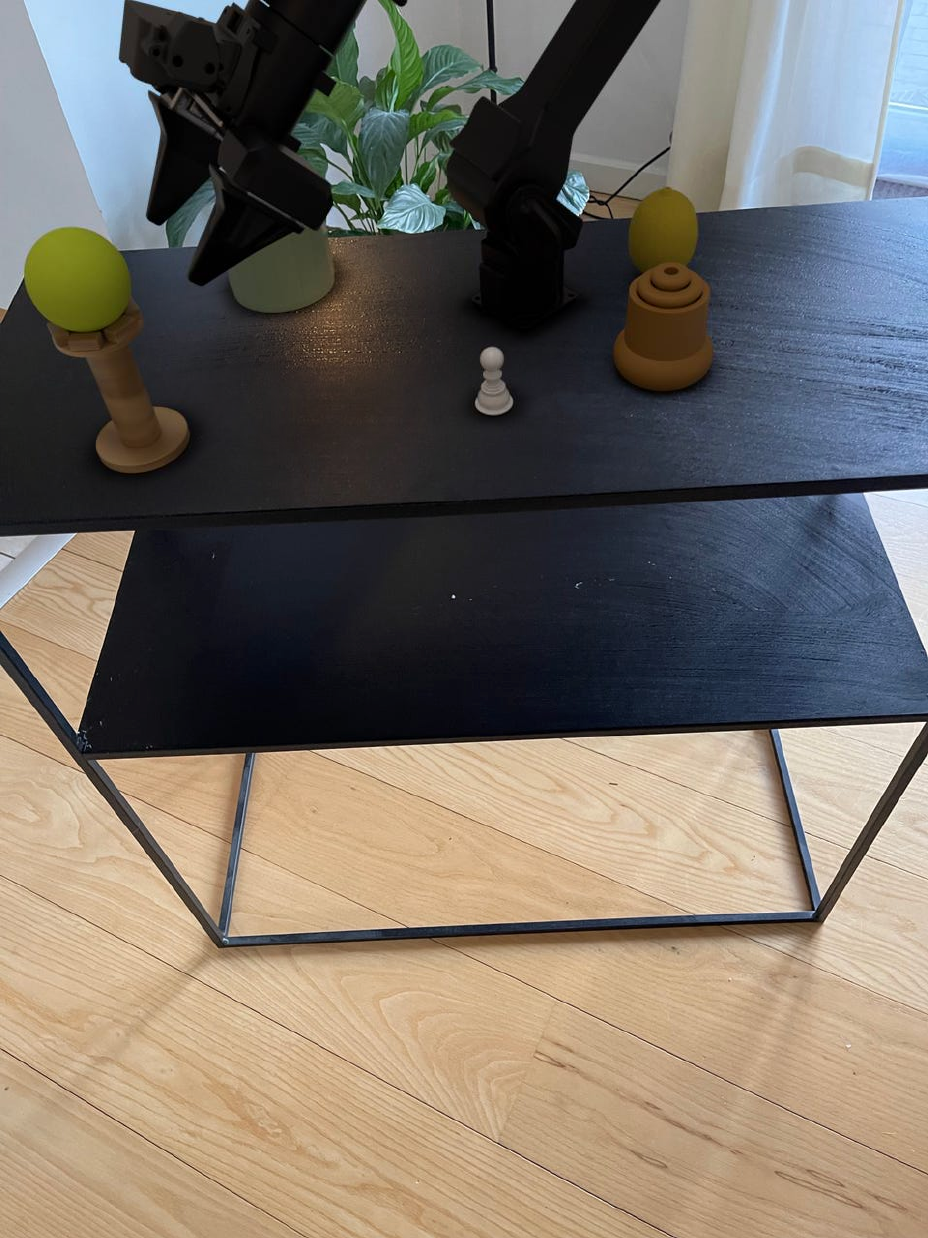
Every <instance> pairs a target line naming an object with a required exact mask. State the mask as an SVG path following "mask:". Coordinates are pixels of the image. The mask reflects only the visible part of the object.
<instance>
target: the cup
mask: <svg viewBox="0 0 928 1238" xmlns="http://www.w3.org/2000/svg"><path fill="white" fill-rule="evenodd" d="M302 225H303V226H304V227H305V230H304V231H303V232H302V233H301V234H300V235H299V234H297V233H295V232H293V233H291V234H289V235H287V236H285V237H283V238H282V239H280V240H278V241H276V242H274V243H272V244H271V245H269V246H267V247H265V248H263V249H261V250H260V251H258V252H256V253H254V254H253V255H251V256H250V257H248V258H246V259H245V260H243V261H242V262H240V263H239V264H237V265H235V266H234V267H232V268H231V269H229V270H228V271H226V274H227V278H228V281H229V284H230V288H231V290H232V293H233V297H234V299H235V300H236V302H238V304H240V306H242V307H244V308H246V309H249V310H251V311H254V312H259V313H268V314H279V313H287V312H293V311H297V310H300V309H303V308H306V307H308V306H311V305H314V304H316V303H317V302H319V301H320V300H321V299H323V298H325V296H326V295H328V294H329V292H330V291H331V290H332V288H333V286H334V283H335V265H334V261H333V256H332V250H331V244H330V239H329V234H328V228H327V223H326V219H325V220H324V222H323V223H322V225H321V227H320V228H319V230H318V231H314V230H312V229H310V228H309V227H307V226H305V225H304V224H302Z"/></svg>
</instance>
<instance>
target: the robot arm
mask: <svg viewBox="0 0 928 1238" xmlns="http://www.w3.org/2000/svg"><path fill="white" fill-rule="evenodd" d="M367 1H368V0H248V1H247V2H246V4H245V7H244V9H243V8H242V7H241V6H240V5H238V4H237V3H236V2H234V1H232V3H231V5H229V4H227V5H226V6H225V7H224V8H223V10H222V12H221V14H220V16H219V17H218V19H217V20H216V22H213V21H210V20H206V19H205V18H204V17H202V16H198V17H196V16H194V15H191V14H189V13H185V12H182V11H177V10H173V9H169V8H165V7H162V6H158V5H154V4H150V3H146V2H142V1H138V0H124V2H123V10H122V20H121V30H120V40H119V50H118V60H119V62H120V63H121V64H125V65H126V66H127V67H128V68H129V73H130V75H131V77H133V78H134V79H135V80H137V81H138V82H141V83H144V84H147V85H150V86H151V87H152V88H153V89H154V90H155V91H156V92H157V93H159V94H157V93H156V92H154V91H152V90H150V89H148V90H147V97H148V100H149V101H150V103H151V105H152V108H153V111H154V115H155V117H156V120H157V123H158V125H159V132H160V133H159V142H158V148H157V154H156V158H155V159H156V160H155V164H154V170H153V175H152V180H151V185H150V189H149V190H150V191H149V196H148V201H147V206H146V211H145V218H146V220H147V221H148V222H149V223H151V224H154V225H155V226H158V227H161V226H162V225H164V224H165V223H166V222H167V221H168V220H170V219H171V218H172V217H173V216H174V215H175V214H176V213H177V212H178V211H179V210H180V209H181V208H182V207H183V206H184V205H185V204H186V203H187V202H188V201H189V200H190V199H191V198H192V197H193V196H194V195H195V194H196V192H197V191H199V190H200V188H201V187H203V186H204V184H206V183H207V182H208V181H209V180H210V178H211V182H212V186H213V190H214V195H215V201H214V204H213V207H212V209H211V211H210V214H209V216H208V219H207V221H206V224H205V226H204V229H203V231H202V233H201V236H200V239H199V241H198V244H197V246H196V248H195V251H194V253H193V256H192V259H191V262H190V265H189V268H188V271H187V273H186V278H187V280H188V281H189V283H191V284H194V285H195V286H198V287H205V286H206V285H207V284H210V283H211V282H212V281H214V280H216V279H217V278H218V277H219V276H221V275H223V274H225V273H227V271H228V270H229V269H231V268H232V267H234V266H235V265H237V264H239V263H240V262H242V261H243V260H245V259H246V258H248V257H250V256H251V255H253V254H254V253H256V252H258V251H260V250H261V249H263V248H265V247H267V246H269V245H271V244H272V243H274V242H276V241H278V240H280V239H282V238H283V237H285V236H287V235H289V234H291V233H293V232H295V233H297V234H299V235H300V234H301V233H302V232H303V231H304V230H305V227H304V226H303V225H302V224H304V225H305V226H307V227H309V228H310V229H312V230H314V231H318V230H319V228H320V227H321V225H322V223H323V222H324V220H325V221H326V218H327V217H328V215H329V214H330V211H331V210H332V208H333V206H334V205H335V202H334V197H333V192H332V185H331V183H330V182H329V180H328V179H327V178H325V176H324V175H323V174H322V173H321V172H320V171H319V170H318V169H317V168H316V167H315V166H314V165H313V164H312V163H310V161H309V160H306V159H305V158H303V157H302V156H301V155H299V154H298V152H299V150H300V148H301V146H302V145H303V142H302V141H301V140H300V139H299V138H298V137H297V136H296V135H295V134H294V131H295V129H296V127H297V126H298V124H299V123H300V120H301V119H302V117H303V115H304V113H305V112H306V110H307V108H308V106H309V104H310V103H311V102H312V99H313V98H314V95H315V94H316V92H317V91H319V92H320V93H321V94H323V95H324V96H326V97H327V98H329V97H330V95H331V94H332V92H333V90H334V88H335V87H336V85H337V83H338V82H337V81H336V80H334V78H332V77H331V75H329V74H328V71H329V69H330V67H331V65H332V64H333V63H334V60H335V58H336V56H337V55H338V53H339V51H340V49H341V47H342V46H343V45H344V42H345V40H346V39H347V37H348V35H349V34H350V32H351V30H352V28H353V26H354V25H355V23H356V21H357V20H358V18H359V16H360V14H361V12H362V11H363V8H364V7H365V5H366V3H367ZM389 1H390V2H391V3H393V4H394V5H396V6H397V7H400V8H403V7H405V6H406V5H407V4H408V0H389ZM661 1H662V0H574V2H573V4H572V6H571V7H570V9H569V10H568V11H567V14H566V15H565V16H564V18H563V20H562V22H561V23H560V25H559V26H558V28H557V30H556V31H555V33H554V34H553V36H552V37H551V39H550V41H549V42H548V44H547V46H546V47H545V49H544V51H543V52H542V54H541V55H540V57H539V59H538V60H537V61H536V63H535V64H534V67H533V68H532V70H531V71H530V73H529V74H528V76H527V77H526V79H525V81H524V82H523V84H522V85H521V86H520V88H519V89H518V90H517V91H515V93H513V94H512V95H510V96H509V97H507V98H505V99H504V100H503V101H501V102H499V103H497V104H496V103H495V102H494V101H493V100H491V99H490V98H488V97H487V96H485V95H482V96H480V98H478V100H477V101H476V102H475V103H474V105H473V107H472V109H471V111H470V114H469V116H468V118H467V120H466V122H465V124H464V126H463V127H462V129H460V131H459V132H458V134H457V135H455V136H454V137H453V138H452V139H451V140H450V141H448V146H449V147H451V148H452V149H453V150H452V152H451V153H450V156H449V158H448V160H447V162H446V165H445V171H444V173H445V176H446V184H447V185H446V186H447V191H448V193H449V195H450V198H451V199H452V200H453V201H454V202H455V203H456V204H457V205H458V206H459V207H460V208H461V209H462V210H464V211H465V212H466V213H467V214H468V215H469V216H470V217H471V219H472V221H474V222H475V223H478V224H479V225H480V226H481V227H482V228H484V229H485V230H486V231H487V232H486V237H485V238H483V239H481V240H480V250H481V251H480V252H481V261H480V262H479V264H478V273H479V287H480V291H479V293H477V294H475V295H473V296H472V297H471V305H473V306H474V307H476V308H477V309H479V310H480V311H482V312H484V313H486V314H488V315H490V316H491V317H494V318H495V319H497V320H498V321H501V323H504V324H506V325H508V326H510V327H511V328H513V329H515V330H516V331H519V332H522V333H527V332H528V331H531V330H532V329H533V328H535V327H537V326H538V325H540V324H542V323H544V322H545V321H547V320H548V319H550V318H551V317H553V316H555V315H557V314H558V313H560V312H562V311H563V310H565V309H567V308H569V307H570V306H572V305H573V304H575V303H576V302H578V294H577V293H576V292H574V291H572V290H571V289H568V288H566V287H565V285H564V284H565V252H566V251H569V250H572V249H574V248H576V247H577V245H578V241H579V238H580V235H581V231H582V228H583V225H584V220H583V218H581V217H580V216H579V215H578V214H576V213H575V212H573V211H572V210H571V209H570V208H569V207H567V206H566V205H564V204H563V203H562V202H561V201H559V200H558V198H559V195H560V194H561V191H562V189H563V187H564V185H565V183H566V181H567V179H568V173H569V166H570V161H571V156H572V155H571V154H572V148H573V142H574V136H575V134H576V132H577V129H578V128H579V126H580V125H581V123H582V122H583V120H584V119H585V117H586V115H588V112H589V111H590V109H591V108H592V106H593V105H594V104H595V102H596V100H597V99H598V97H599V96H600V94H601V93H602V91H603V90H604V88H605V87H606V85H607V84H608V82H609V81H610V79H611V78H612V77H613V75H614V73H615V72H616V70H617V68H618V67H619V65H620V64H621V62H622V61H623V59H624V58H625V56H626V55H627V54H628V52H629V50H630V49H631V47H632V46H633V44H634V43H635V41H636V39H637V38H638V36H639V35H640V34H641V32H642V31H643V29H644V27H645V26H646V24H647V23H648V21H649V20H650V19H651V17H652V15H653V14H654V13H655V11H656V9H657V8H658V6H659V5H660V3H661Z"/></svg>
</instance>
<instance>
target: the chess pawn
mask: <svg viewBox="0 0 928 1238" xmlns="http://www.w3.org/2000/svg"><path fill="white" fill-rule="evenodd" d="M479 362H480V365H481V367H482V368H483V369H484V370H483V372H482V375H483V378H484V379H485V380H484V382H482V383H481V385H480V390H478V393H477V397H476V398H475V402H474V405H475V408H476V409H477V411H479V412H480V413H482V414H484V415H486V416H500V415H502V414H505V413H507V412H508V411H509V410H511V409H512V407H513V405H514V399H513V397H512V396H511V393H510V391H509V389H508V388H507V387H506V382H504V381H503V380H502V379H501V377H502V376H503V372H502V370H501V369H502V366H503V365H504V362H505V356H504V354H503V351H501V349H500V348H498V347H496V346H488V347H487V348H485V349H484V350H482V351H481V354H480V355H479Z"/></svg>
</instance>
